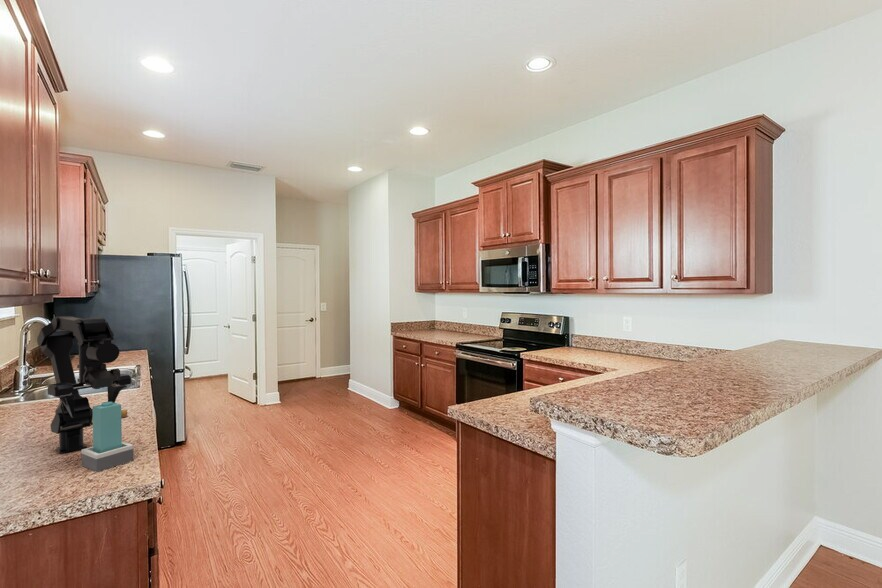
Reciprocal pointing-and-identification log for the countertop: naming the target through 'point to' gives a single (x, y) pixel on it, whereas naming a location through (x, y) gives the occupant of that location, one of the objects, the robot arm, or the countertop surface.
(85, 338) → the robot arm
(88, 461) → the tower base
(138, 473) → the countertop surface
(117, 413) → the tall brick
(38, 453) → the countertop surface
